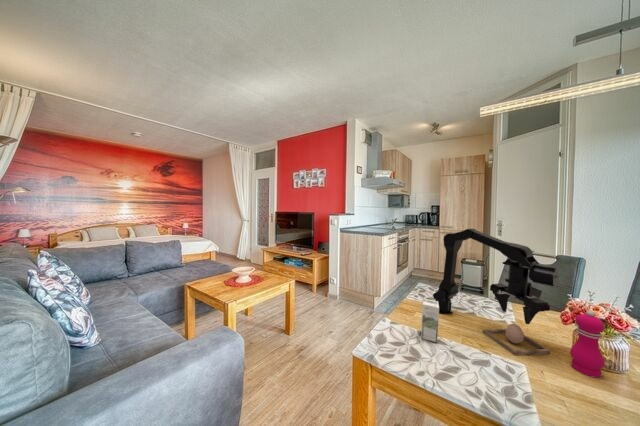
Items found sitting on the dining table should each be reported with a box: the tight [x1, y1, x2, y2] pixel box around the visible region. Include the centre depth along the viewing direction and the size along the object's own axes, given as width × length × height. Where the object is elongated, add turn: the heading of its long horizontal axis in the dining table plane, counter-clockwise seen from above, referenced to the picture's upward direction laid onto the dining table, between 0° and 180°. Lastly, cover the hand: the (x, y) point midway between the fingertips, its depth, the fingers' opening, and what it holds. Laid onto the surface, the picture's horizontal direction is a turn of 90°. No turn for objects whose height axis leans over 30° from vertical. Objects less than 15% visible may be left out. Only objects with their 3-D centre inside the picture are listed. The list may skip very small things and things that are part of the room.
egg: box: [505, 323, 524, 345], centre depth 86 cm, size 5×5×7 cm
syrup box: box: [420, 298, 440, 344], centre depth 88 cm, size 6×6×14 cm
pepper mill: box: [569, 310, 606, 378], centre depth 72 cm, size 7×7×20 cm
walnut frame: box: [482, 328, 551, 357], centre depth 87 cm, size 14×14×1 cm
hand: (515, 317), depth 86 cm, fingers open, 9 cm apart
